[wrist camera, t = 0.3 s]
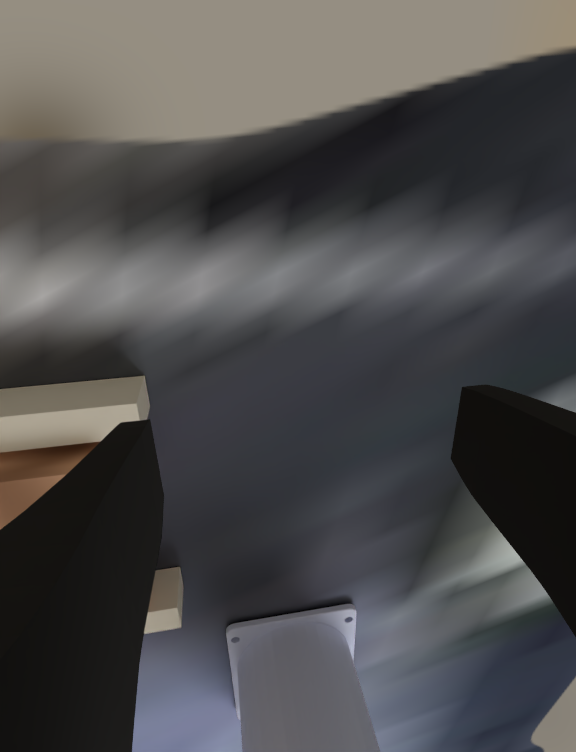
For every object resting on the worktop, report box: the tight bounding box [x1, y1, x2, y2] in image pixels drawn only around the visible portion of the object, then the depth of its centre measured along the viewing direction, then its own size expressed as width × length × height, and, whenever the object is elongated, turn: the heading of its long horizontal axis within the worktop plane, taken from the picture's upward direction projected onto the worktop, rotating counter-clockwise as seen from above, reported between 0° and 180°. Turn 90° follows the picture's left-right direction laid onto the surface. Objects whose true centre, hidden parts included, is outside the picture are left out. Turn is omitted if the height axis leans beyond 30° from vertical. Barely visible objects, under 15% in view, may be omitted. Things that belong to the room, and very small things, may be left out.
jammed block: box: [0, 441, 101, 529], centre depth 20 cm, size 5×9×4 cm, turn 2°
